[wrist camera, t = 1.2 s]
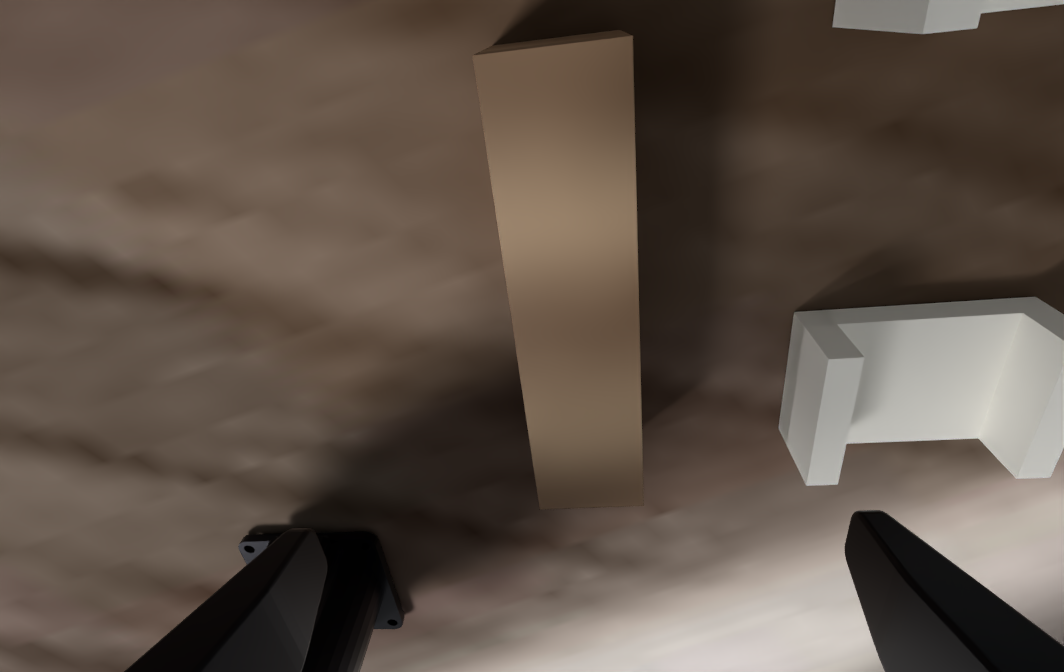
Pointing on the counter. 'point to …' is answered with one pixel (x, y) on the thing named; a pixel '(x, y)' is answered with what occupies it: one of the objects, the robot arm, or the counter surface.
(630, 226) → the rail
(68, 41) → the counter surface
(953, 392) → the rail brackets
